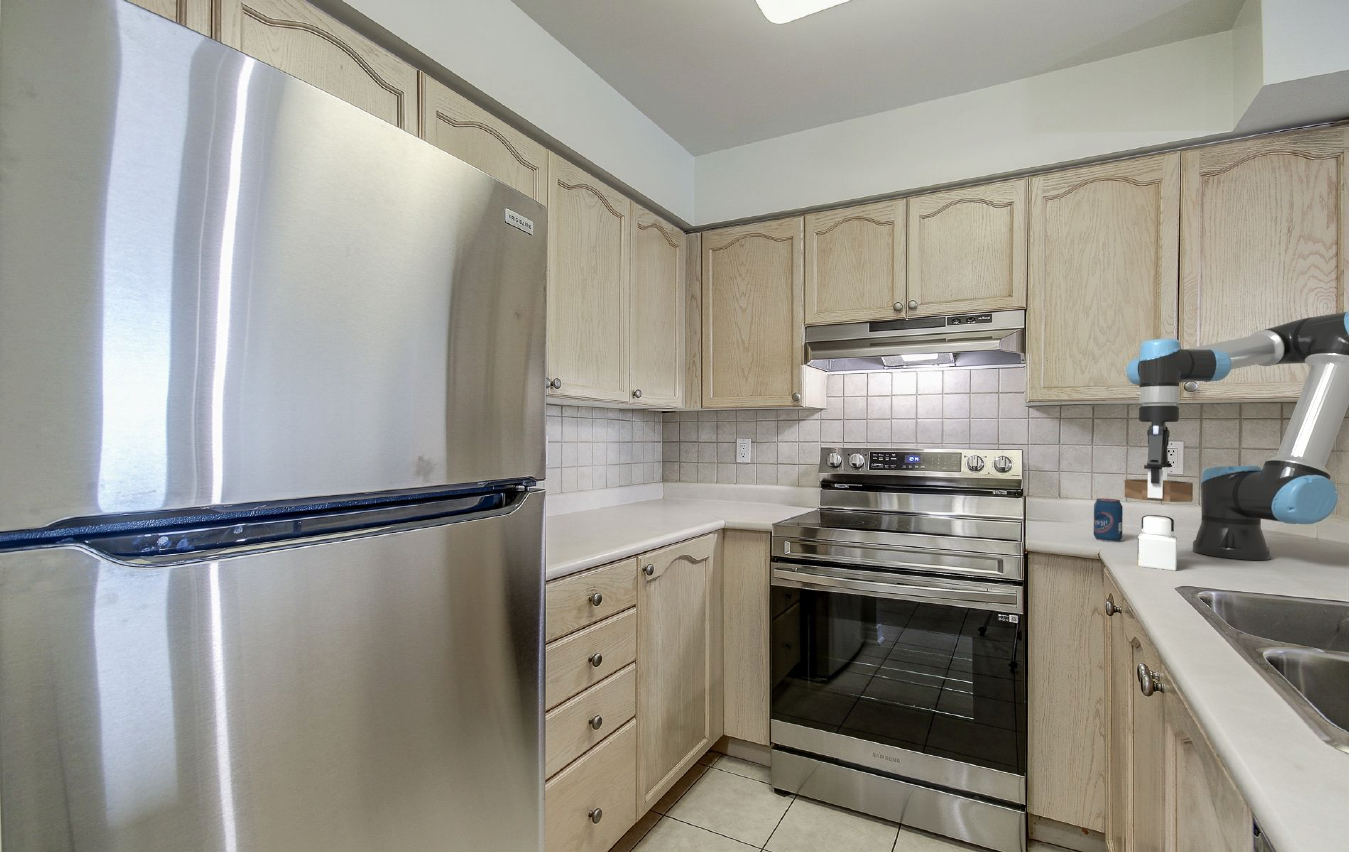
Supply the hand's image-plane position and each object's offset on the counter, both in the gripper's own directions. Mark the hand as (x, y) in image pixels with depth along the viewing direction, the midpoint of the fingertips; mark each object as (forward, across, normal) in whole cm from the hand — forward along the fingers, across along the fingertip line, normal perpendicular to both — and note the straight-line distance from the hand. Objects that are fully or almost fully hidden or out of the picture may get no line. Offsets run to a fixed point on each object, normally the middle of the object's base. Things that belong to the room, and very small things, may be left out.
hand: (1157, 496), depth 148 cm
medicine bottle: (+17, 0, 0) cm, 17 cm away
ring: (+1, 0, 0) cm, 1 cm away
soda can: (+17, -35, -14) cm, 42 cm away
